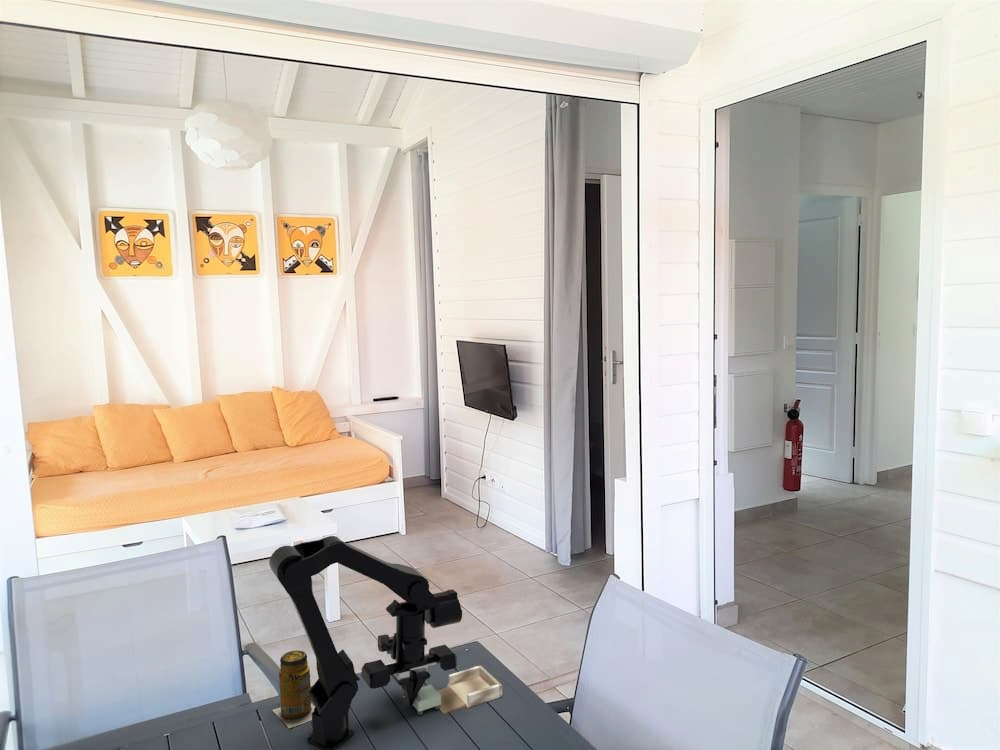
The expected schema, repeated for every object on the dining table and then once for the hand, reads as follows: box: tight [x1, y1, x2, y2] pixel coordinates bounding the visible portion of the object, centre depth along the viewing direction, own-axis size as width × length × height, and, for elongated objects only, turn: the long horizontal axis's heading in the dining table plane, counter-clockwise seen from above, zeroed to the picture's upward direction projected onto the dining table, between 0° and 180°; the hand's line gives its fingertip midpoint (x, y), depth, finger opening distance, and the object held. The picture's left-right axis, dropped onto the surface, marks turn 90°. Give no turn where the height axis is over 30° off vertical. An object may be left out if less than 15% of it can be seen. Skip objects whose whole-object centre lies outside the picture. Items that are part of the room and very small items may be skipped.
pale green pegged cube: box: [412, 684, 441, 716], centre depth 148 cm, size 5×5×4 cm
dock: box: [437, 664, 503, 714], centre depth 153 cm, size 13×10×3 cm
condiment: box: [272, 650, 315, 729], centre depth 147 cm, size 7×8×12 cm
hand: (409, 705), depth 147 cm, fingers closed
